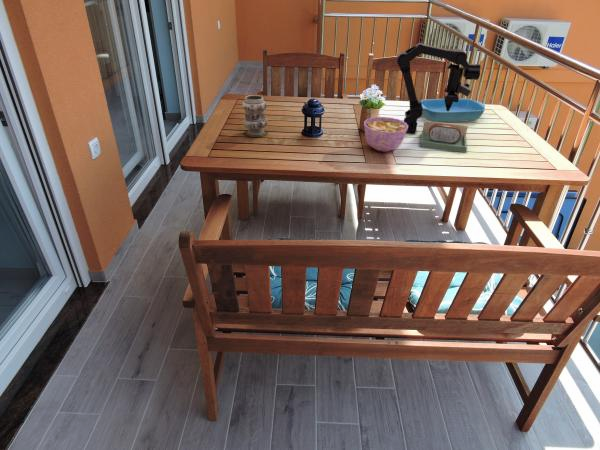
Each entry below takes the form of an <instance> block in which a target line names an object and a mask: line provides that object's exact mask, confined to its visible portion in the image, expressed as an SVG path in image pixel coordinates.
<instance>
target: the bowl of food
mask: <svg viewBox="0 0 600 450" xmlns="http://www.w3.org/2000/svg"><path fill="white" fill-rule="evenodd" d="M363 127H364V135H365V140H366V143H367V145H368V146H369V147H371V148H373V149H374V150H376V151H379V152H385V153H386V152H391V151H393V150H395V149H397V148H399V147H400V146H401V145H402V143H403V141H404V138H405V136H406V134H407V133H406V131H407V129H408V125H407V123H405V122H404V120H401V119H399V118H395V117H388V116H374V117H369V118H367V119H366V120H364V121H363Z"/></svg>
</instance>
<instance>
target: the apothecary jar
mask: <svg viewBox="0 0 600 450" xmlns="http://www.w3.org/2000/svg"><path fill="white" fill-rule="evenodd" d="M267 106H268V105H267V102H266V101H265V100H264V97H263V96H262V95H258V94H250V95H246V96H245V98H244V101H243V102H242V104H241V107H242V109H243V110H244V119H243V120H242V125H243V126H244V127H245V128H246V129H248V130H246V132H245V135H246V136H248V137H252V138H259V137H263V136H265V135H266V134H267V132H266V131H265V130H264V128H265V127H266V126H268V123H269V122H268V119H267V118H266V115H265V113H266V112H265V110H266V109H267Z"/></svg>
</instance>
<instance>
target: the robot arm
mask: <svg viewBox="0 0 600 450" xmlns="http://www.w3.org/2000/svg"><path fill="white" fill-rule="evenodd" d="M419 55H427V56H431V57H434V58H440V59H445V60H446V61H449V63H448V64H447V65H446V68H447V69H448V70H449V75H448V79H447V84H446V86H445V87H444V90H443V91H444V93H446V94H443V95H444V97H443V99H444V101H445V105H446V110H447V111H449V110H450V108H451V106H452V104H453V102H458V100H459V98H460V96H459V95H460V94H461V95H463V96H465V97H467V98H468V97H469V95H470V94H471V93H472V88H471V87H470V83H469V82H466V83H464V84H463V83H462V77H463V78H464V80H472V81H479V79H480V77H481V68H482V67H481V64H479V63H477V64H476V63H475V64H474V63H473V64H472V63H471V64H470V63H469V62H468V60H467V59H468V54H467V52H465V51H464V50H463V49H461V48H443V47H439V46H434V45H429V44H424V43H422V42H418V43H416V44H415V45H413V46H411V47H410V48H408V49H405V50H402V51H400V52H398V54H397V55H396V63H397V65H398V67H399V69H400V72H401V73H402V77H403V80H404V84H405V89H406V92H407V96H408V101H409V109H408V110H407V111H405V113H404V118H403V121H404V122H405V123H407V125H408V129H407V131H406V134H412V135H415V133H416V132H417V128H418V122H417V121H418V119H420V118H421V117H422V116H423V113H422V111H423V106H422V102H421V100H422V99H421V98H420V99H418V97H417V94H416V89H415V85H414V80H413V77H412V73H411V61H413V60H414V59H415V58H417V57H418V56H419ZM458 94H459V95H458Z"/></svg>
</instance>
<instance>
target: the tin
mask: <svg viewBox="0 0 600 450" xmlns="http://www.w3.org/2000/svg"><path fill="white" fill-rule="evenodd" d="M429 137H430V139H431V140H433V141H436V142H444V143H456V142H457V141H459V139H460V138H461V130H460V128H459V127H457V126H454V125H446V124H434V125H432V126H431V127H430V128H429Z"/></svg>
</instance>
